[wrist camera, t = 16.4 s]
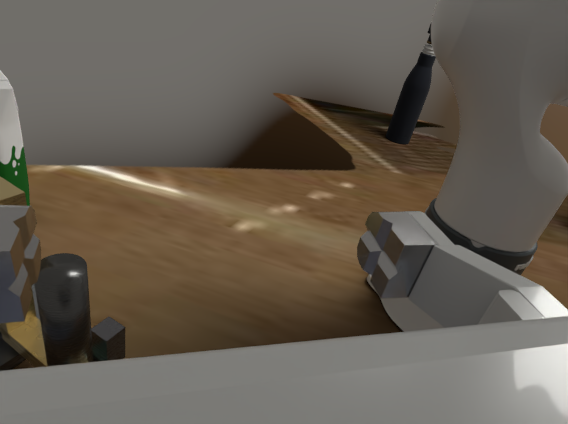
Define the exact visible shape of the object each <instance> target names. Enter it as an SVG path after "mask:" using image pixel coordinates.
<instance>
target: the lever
mask: <svg viewBox="0 0 568 424" xmlns="http://www.w3.org/2000/svg"><path fill="white" fill-rule="evenodd" d="M0 205H18V206H27V203H26V196H25V192H24V191H22V190H21V189H19V188H17V187H16V186H14V185H13V184H11V183H10V182H8V181H7V180H5V179H4V178H2V177H0ZM34 285H35V291H36V297H37V303H38V310H39V316H40V320H39V319H38V318H37V316H36V310H35V304H34V298H33V292H32V286H31V293H32V299H31V302H30V306H29V309H28V312H27V315H26V318H25V321H21V322H9V323H0V332H1V333H2V338H3V340H4V341H6V342H7V343H8V344H9V345H10V346H11V347H12V348H14V349H15V350H16V351H17V352H18V353H19V354H20V355H22V356H23V357H24V358H25V359H26V360H27V361H28V362H30V363H31V364H32V365H33V366H34V367H46V366H56V365H66V364H77V363H87V362H93V350H92V335H91V320H90V305H89V291H88V276H87V264H86V262H85V260H84V259H83V258H81V257H80V256H77V255H74V254H67V253H62V254H55V255H51V256H48V257H46V258H44V259H42V260H41V265H40V273H39V276H38V280H37V282H36V283H35V284H34Z"/></svg>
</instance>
